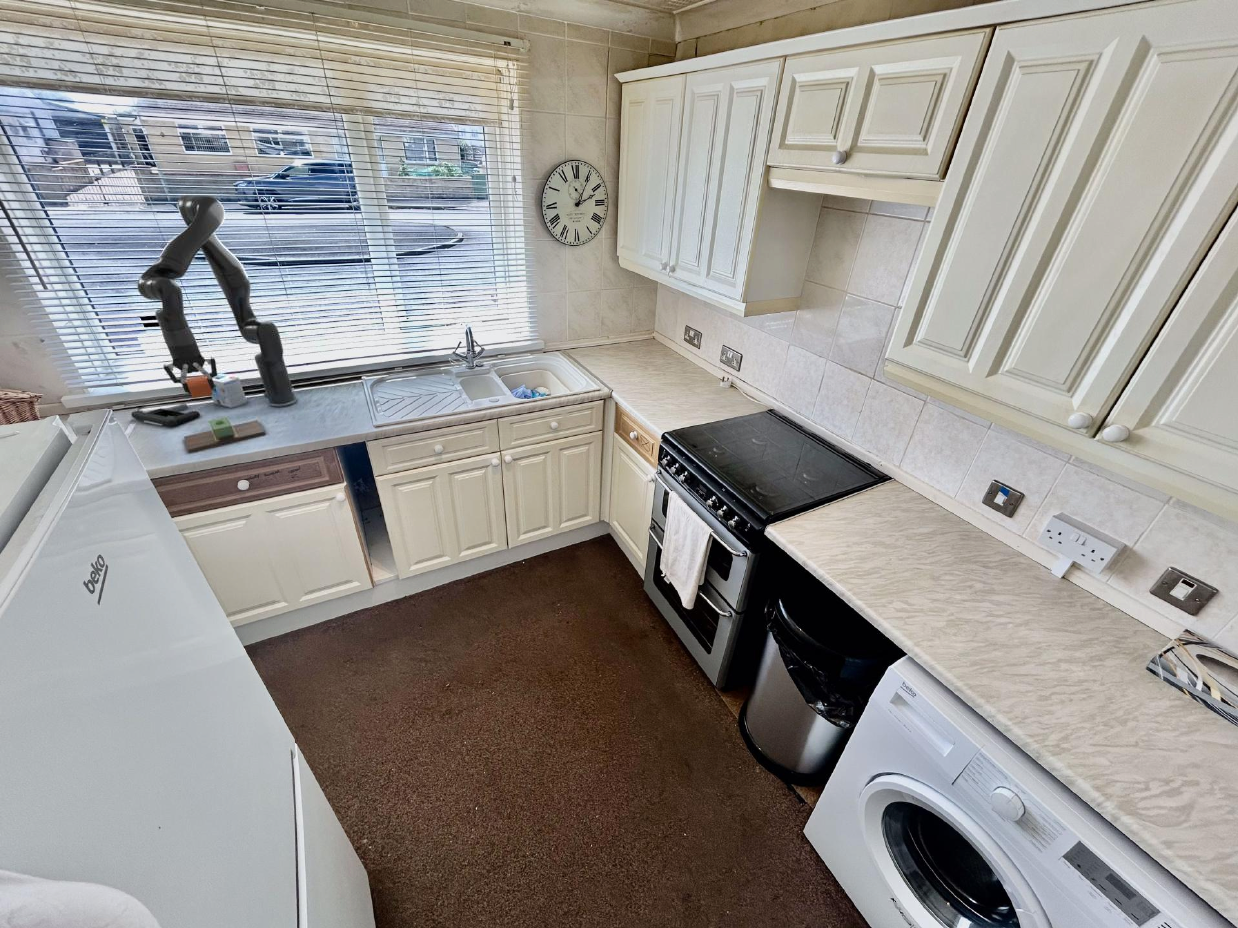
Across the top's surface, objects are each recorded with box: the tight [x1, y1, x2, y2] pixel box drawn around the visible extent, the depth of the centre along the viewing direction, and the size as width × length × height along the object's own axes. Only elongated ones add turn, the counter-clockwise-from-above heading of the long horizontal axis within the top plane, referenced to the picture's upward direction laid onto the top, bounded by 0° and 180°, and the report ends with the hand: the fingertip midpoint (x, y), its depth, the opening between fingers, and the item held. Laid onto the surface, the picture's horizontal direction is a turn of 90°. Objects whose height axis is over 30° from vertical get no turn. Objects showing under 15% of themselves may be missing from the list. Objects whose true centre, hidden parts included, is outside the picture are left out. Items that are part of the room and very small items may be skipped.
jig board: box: [183, 419, 266, 453], centre depth 182 cm, size 12×22×2 cm, turn 131°
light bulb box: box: [210, 372, 248, 409], centre depth 205 cm, size 11×7×11 cm, turn 68°
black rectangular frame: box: [130, 403, 201, 427], centre depth 195 cm, size 3×20×16 cm
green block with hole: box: [208, 416, 235, 440], centre depth 181 cm, size 9×6×5 cm, turn 41°
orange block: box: [186, 375, 213, 399], centre depth 174 cm, size 9×6×4 cm, turn 40°
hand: (200, 390), depth 174 cm, fingers closed on orange block, 5 cm apart
